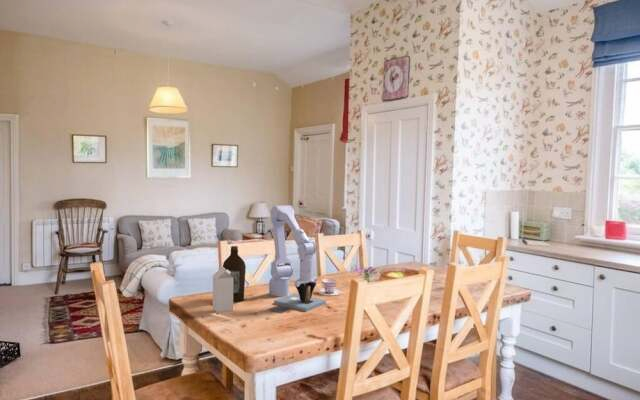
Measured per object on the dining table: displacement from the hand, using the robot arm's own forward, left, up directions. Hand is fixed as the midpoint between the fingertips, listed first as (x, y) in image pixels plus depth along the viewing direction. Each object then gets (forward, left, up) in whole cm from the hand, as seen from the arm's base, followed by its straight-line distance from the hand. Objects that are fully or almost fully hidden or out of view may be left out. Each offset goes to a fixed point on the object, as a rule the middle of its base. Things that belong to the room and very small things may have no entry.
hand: (305, 299), depth 196 cm
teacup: (-5, +27, -4) cm, 28 cm away
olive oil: (-33, -12, -4) cm, 35 cm away
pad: (-5, -12, -3) cm, 13 cm away
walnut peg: (0, 0, -2) cm, 2 cm away
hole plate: (-3, 0, -3) cm, 5 cm away
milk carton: (-24, -27, -4) cm, 36 cm away
